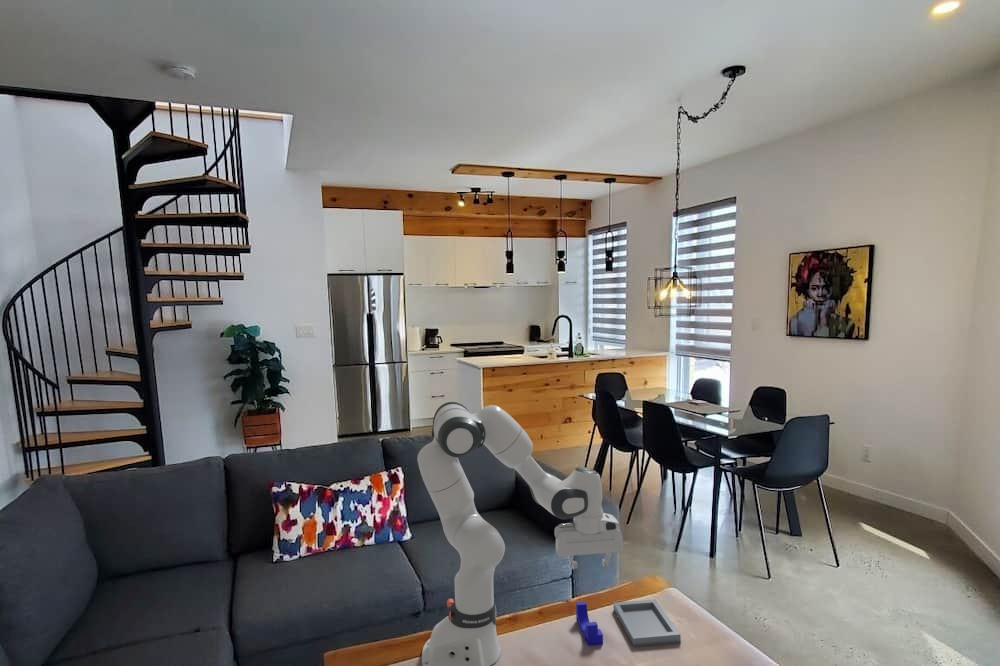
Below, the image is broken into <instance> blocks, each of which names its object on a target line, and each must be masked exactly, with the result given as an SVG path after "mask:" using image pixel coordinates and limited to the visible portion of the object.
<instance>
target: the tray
mask: <svg viewBox="0 0 1000 666" xmlns="http://www.w3.org/2000/svg"><path fill="white" fill-rule="evenodd" d="M614 611H615V612H614ZM613 612H614V614H615V613H616V614H617V616H618V617H617V616H616V617H617V619H618V618H619V619H618V621H619V620H620V621H619V623H620V622H621V623H620V625H621V624H622V625H621V626H623V627H622V629H623V628H624V629H623V630H624V632H625V634H626V636H627V638H628V640H629V642H630V643H631V645H632V647H633V648H640V647H649V646H659V645H660V646H661V645H663V646H664V645H673V644H681V643H682V642H681V637H682V636H681V633H680V631H679V630H678V629H677V628H676V626H675V625H674V623H673V622H672V620H671V619H670V618H669V616H668V615H667V613H666V612H665V611H664V609H663V608H662V606H661V605H660V604H659V602H658V601H657V600H656V599H645V600H642V599H641V600H634V601H633V600H632V601H621V602H620V601H619V602H618V601H617V602H613ZM616 614H615V615H616Z"/></svg>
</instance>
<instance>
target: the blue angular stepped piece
mask: <svg viewBox="0 0 1000 666" xmlns="http://www.w3.org/2000/svg"><path fill="white" fill-rule="evenodd" d="M575 610H576V612H575V614H576V615H575V616H576V617H575V619H576V620H577V621H578V623H577V625H578V624H579V625H578V627H579V626H580V627H579V630H580V629H581V630H580V632H581V631H582V632H581V634H582V633H583V634H582V636H583V635H584V636H583V638H584V640H585V642H586V644H587V646H588V647H590V646H591V647H592V646H598V645H603V644H604V634H603V631H601V629H600V628H598V622H597V621H592V622H591V621H590V619H589V615H588V614H589V613H588V605H587V603H586V601H579V602H578V601H576V602H575ZM577 621H576V622H577Z"/></svg>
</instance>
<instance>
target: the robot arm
mask: <svg viewBox="0 0 1000 666" xmlns="http://www.w3.org/2000/svg"><path fill="white" fill-rule="evenodd" d="M431 436H432V438H433V440H432V441H431V442H429V443H427V444H425V445H424V446H423V447H422V448H421V449H420V450H419V452H418V454H417V457H416V459H417V460H416V461H417V465H418V469H419V471H420V475H421V477H422V478H421V479H422V481H423V483H424V486H425V487H426V490H427V492H428V494H429V496H430V498H431V500H432V503H433V504H434V506H435V509H436V511H437V512H438V515H439V518H440V522H441V526H442V528H443V529H442V530H443V533H444V535H445V537H446V539H447V542H448V543H449V545H451V546H452V547H453V548H454V549H455V551H457V552H458V554H459V557H460V566H459V570H458V571H457V572H456V574H455V577H454V579H453V581H454V599H453V598H448V599H447V600H446V603H447V604H446V607H447V609H448V610H447V611H448V615H447V616H446V617H444V618H443V619H442V620H440V621H439V622H437V624H436V625H435V626H434V627H433V629H432V632H431V635H430V638H429V639H428V640H427V641H426V642H425V644H424V645H423V648H422V652H421V666H492V665H494V664H496V662H497V661H498V660H499V658H500V657H501V654H502V648H501V644H500V642H499V641H500V640H499V638H498V634H497V627H496V623H497V607H496V600H495V597H494V576H495V571H496V566H498V565H499V564H500V562H501V561H503V557H504V555H505V551H506V545H505V542H504V539H503V538H502V536H501V534H500V533H499V531H498V530H497V529H496V528H495V527H494V526H493V525H491V523H489V522H488V521H486V520H485V519H484V518H483V517H482V516H481V515H480V514H479V511H477V508H476V505H475V500H474V498H475V492H474V490H473V488H472V485H471V483H470V482H469V480H468V478H467V476H466V474H465V471H464V469H463V466H462V465H461V462H460V460H459V458H463V457H466V456H468V455H469V454H471V453H473V452H474V451H475V450H477V449H480V448H482V446H484V447H486V448H487V450H489V452H490V453H491V454H492V455H493V457H495V458H496V459H497V460H498V461H499V462H501V463H502V464H503V465H505V466H506V467H507V468H509V469H514V470H515V471H516V472H517V474H519V476H520V477H521V478H522V479H523V480H524V482H525V483H526V484H527V485H528V488H529V491H530V494H531V496H532V499H533V500H534V502H535V503H536V504H537V505H540V507H543V508H544V509H545V510H547V511H548V512H549V513H550V514H551V515H553V516H554V517H556V518H557V519H560V520H563V521H565V520H569V519H572V518H573V522H567V523H559V524H558V525H556V526H555V528H554V537H555V552H556V554H557V555H558V556H559V557H567V558H568V560H569V561H570V562H571V569H572V570H578V569H579V568H578V566H579V565H578V562H577V561H576V560H574V557H575V556H584V555H585V556H586V555H595V554H605V556H604V558H602V560H601V564H602V567H603V568H606V567H608V568H609V563H610V560H611V558H612V557H613V553H620V552H622V551H623V550H624V547H625V546H624V545H625V544H624V538H623V533H622V531H621V530H620V522H619V521H618V519H617V518H616V517H615V516H614V515H613V514H611V513H606V512H604V510H603V507H602V502H603V485H602V479H601V475H600V474H599V472H597V471H596V470H594V469H593V468H589V467H583V466H579V467H575V468H574V469H573V471H572V472H571V474H570V475H568V476H567V477H566V478H565V479H563V480H562V479H560V478H558V476H556V475H555V474H553V473H550V472H547V471H546V470H543V468H542V467H541V466H540V464H538V463H537V460H535V459H534V457H532V454H533V449H534V444H533V441H532V440H531V438H530V436H529V435H528V433H527V431H525V429H524V428H523V427H522V426H521V425H520V424H519V422H517V421H516V420H515V419H514V417H512V415H511V414H510V413H508V412H507V411H505V410H504V409H503V408H501V407H500V406H499V405H495V404H489V405H486V406H484V407H483V408H481V409H480V410H479V411H478V412H477V411H476V412H475V413H470V412H469V410H468V409H467V408H466V406H464V405H463V404H462V403H459V402H456V401H449V402H448V401H447V402H445V403H443V404H441V405H440V406H439V407H438V408H437V409H436V411H435V413H434V416H433V421H432V429H431Z"/></svg>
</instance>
